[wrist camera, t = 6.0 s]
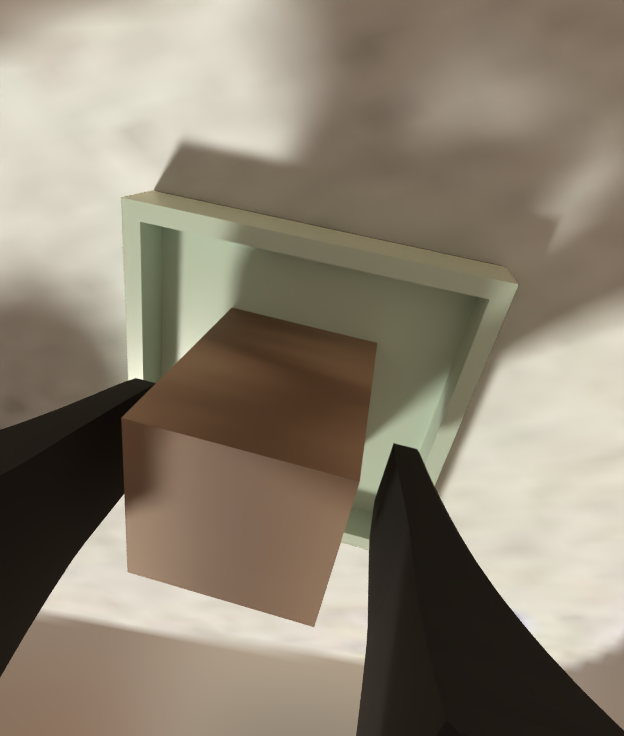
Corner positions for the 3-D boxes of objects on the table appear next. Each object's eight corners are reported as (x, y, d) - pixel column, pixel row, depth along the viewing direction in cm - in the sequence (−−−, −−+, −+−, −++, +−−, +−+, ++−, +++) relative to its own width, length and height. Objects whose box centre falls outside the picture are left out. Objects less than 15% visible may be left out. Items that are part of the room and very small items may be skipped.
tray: (154, 457, 17) (132, 485, 16) (152, 190, 13) (120, 197, 11) (403, 523, 17) (403, 559, 15) (505, 266, 12) (518, 284, 10)
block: (220, 425, 16) (127, 571, 10) (231, 307, 13) (121, 417, 8) (344, 458, 15) (314, 626, 10) (377, 342, 13) (359, 481, 8)
